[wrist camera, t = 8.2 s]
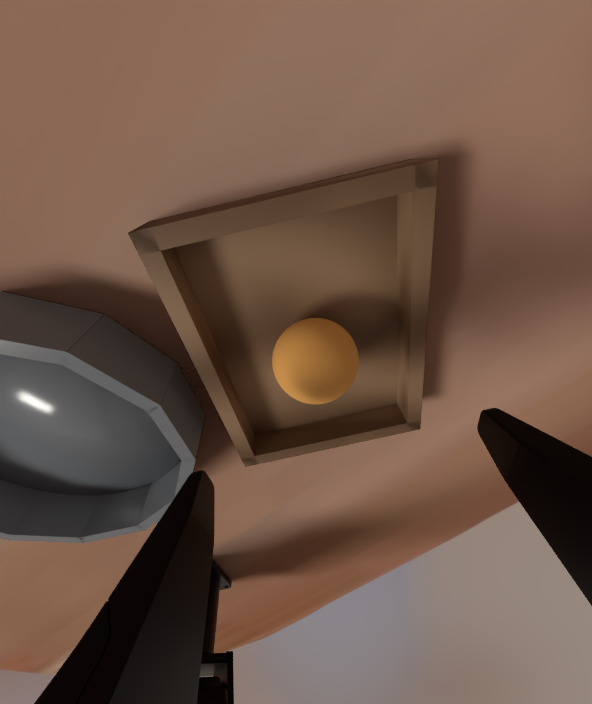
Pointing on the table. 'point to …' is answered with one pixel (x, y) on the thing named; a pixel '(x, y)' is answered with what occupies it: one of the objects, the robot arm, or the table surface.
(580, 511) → the robot arm
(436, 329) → the table surface
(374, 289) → the tray
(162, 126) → the table surface
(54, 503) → the bowl
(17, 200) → the table surface
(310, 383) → the ball
